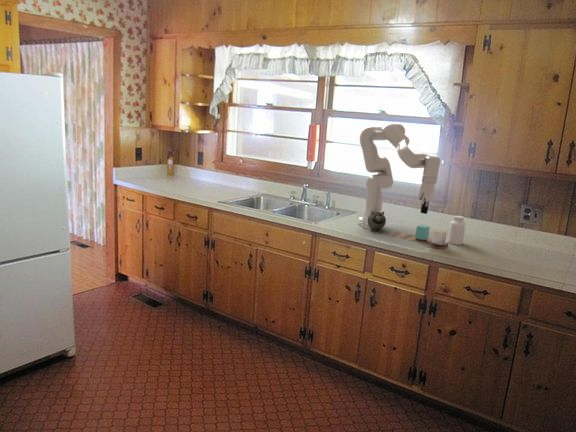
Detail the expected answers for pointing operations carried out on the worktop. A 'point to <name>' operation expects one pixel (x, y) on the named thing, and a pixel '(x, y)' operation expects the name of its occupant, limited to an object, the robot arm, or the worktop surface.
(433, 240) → the pale wooden cube
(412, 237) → the board
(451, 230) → the pill bottle
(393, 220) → the worktop surface
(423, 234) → the matte teal square block
